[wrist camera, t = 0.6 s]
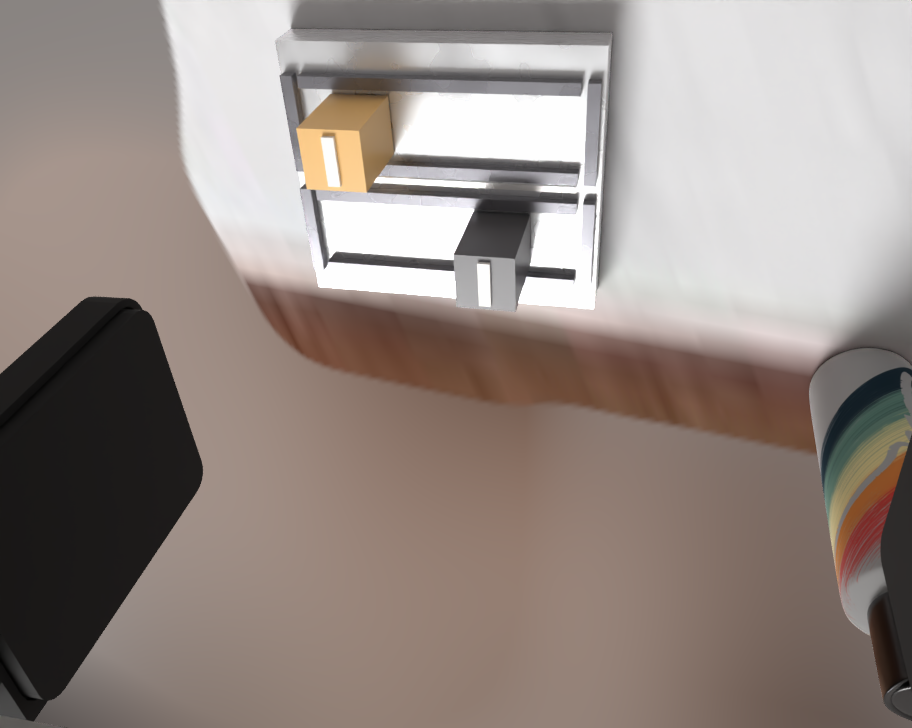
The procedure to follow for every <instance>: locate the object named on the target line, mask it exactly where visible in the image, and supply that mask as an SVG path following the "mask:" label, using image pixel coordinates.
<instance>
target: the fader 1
mask: <svg viewBox="0 0 912 728" xmlns="http://www.w3.org/2000/svg"><path fill="white" fill-rule="evenodd" d="M296 130H297V135H298V141H299V147H300V153H301V158H302V164H303V170H304V176H305V182H306V187H307V189H311V190H328V191H346V192H364V193H367V192H368V190H369V189H370V187H371V186H372V184H373V183H374V182H375V180H376V179H377V177H378V176H379V174H380V173H381V172H382V170H383V169H384V167H385V166H386V165H387V163H388V162H389V160H390V159H391V157H392V156H393V155H394V149H393V139H392V129H391V120H390V110H389V100H388V96H385V95H351V94H330V95H329V96H328V97H327V98H326V99H325V100H324V101H323V102H322V103H321V104H320V105H319V106H318V107H317V108H316V109H315V110H314V111H313V112H312V113H311V114H310V115H309V116H308V117H307V118H306V119H305V120H304V121H303V122H302V123H301V124H300V125H299V126H298V127H297V128H296Z"/></svg>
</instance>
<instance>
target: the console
mask: <svg viewBox="0 0 912 728" xmlns="http://www.w3.org/2000/svg"><path fill="white" fill-rule="evenodd" d="M275 43H276V49H277V55H278V60H279V66H280V71H281V75H280V81H281V87H282V92H283V98H284V103H285V109H286V115H287V120H288V126H289V131H290V137H291V143H292V148H293V154H294V159H295V165H296V171H298V173H299V179H300V184H301V188H300V193H301V199H302V204H303V210H304V215H305V221H306V227H307V232H308V238H309V243H310V249H311V255H312V260H313V266H314V270H316V274H317V280H318V286H319V287H328V288H341V289H353V290H365V291H377V292H390V293H402V294H414V295H426V296H439V297H451V298H456V291H455V275H454V258H453V254H454V252H455V250H456V248H457V245H458V243H459V241H460V239H461V237H462V235H463V232H464V230H465V228H466V226H467V224H468V222H469V219H470V217H471V215H472V213H473V212H486V213H503V214H520V215H530V267H529V271H528V274H527V277H526V280H525V283H524V287H523V290H522V293H521V296H520V299H519V303H524V304H537V305H549V306H561V307H573V308H586V309H594V306H595V300H596V295H597V289H598V271H599V254H600V237H601V220H602V203H603V186H604V169H605V152H606V135H607V118H608V100H609V83H610V66H611V49H612V33H600V32H518V31H436V30H354V29H290V30H288V31H287V32H286V33H284V34H283V35H282V36H280V37H279V38H278V39H277V40H275ZM330 94H351V95H385V96H388V100H389V110H390V120H391V129H392V139H393V149H394V155H393V156H392V157H391V159H390V160H389V162H388V163H387V165H386V166H385V167H384V169H383V170H382V172H381V173H380V174H379V176H378V177H377V179H376V180H375V182H374V183H373V184H372V186H371V187H370V189H369V190H368V192H367V193H364V192H346V191H328V190H311V189H307V187H306V182H305V176H304V170H303V164H302V158H301V153H300V147H299V141H298V135H297V130H296V128H297V127H298V126H299V125H300V124H301V123H302V122H303V121H304V120H305V119H306V118H307V117H308V116H309V115H310V114H311V113H312V112H313V111H314V110H315V109H316V108H317V107H318V106H319V105H320V104H321V103H322V102H323V101H324V100H325V99H326V98H327V97H328V96H329V95H330Z"/></svg>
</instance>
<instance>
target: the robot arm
mask: <svg viewBox="0 0 912 728" xmlns="http://www.w3.org/2000/svg"><path fill="white" fill-rule="evenodd" d="M202 475H203V466H202V461H201V458H200V455H199V452H198V450H197V447H196V444H195V441H194V438H193V435H192V432H191V429H190V426H189V423H188V421H187V417H186V414H185V411H184V408H183V405H182V402H181V399H180V397H179V394H178V391H177V388H176V385H175V382H174V379H173V376H172V373H171V370H170V368H169V364H168V361H167V358H166V355H165V352H164V350H163V347H162V344H161V341H160V338H159V335H158V332H157V329H156V326H155V323H154V320H153V318H152V316H151V315H150V314H149V313H148V312H147V311H144V310H142V308H141V306H140V305H139V304H138V303H137V302H136V301H134V300H132V299H130V298H111V297H88V298H86V299H84V300H83V301H81V302H80V303H79V304H78V305H77V306H76V307H75V308H73V309H72V310H71V311H70V312H69V313H68V314H67V315H66V316H64V317H63V318H62V319H61V320H60V321H59V322H58V323H57V324H56V325H55V326H53V327H52V328H51V329H50V330H49V331H48V332H47V333H46V334H44V335H43V336H42V337H41V338H40V339H39V340H38V341H37V342H36V343H34V344H33V345H32V346H31V347H30V348H29V349H28V350H27V351H25V352H24V353H23V354H22V355H21V356H20V357H19V358H18V359H17V360H16V361H14V362H13V363H12V364H11V365H10V366H9V367H8V368H7V369H5V370H4V371H3V372H2V373H1V374H0V728H66V727H61V726H55V725H50V724H44V723H39V722H34V720H35V719H36V717H37V716H38V714H39V713H40V711H41V710H42V709H43V707H44V706H45V704H46V703H47V701H48V700H52V699H55V698H56V697H57V696H59V695H60V694H61V693H62V691H63V690H64V689H65V688H66V686H67V685H68V683H69V682H70V680H71V678H72V677H73V676H74V674H75V673H76V671H77V670H78V668H79V667H80V665H81V664H82V662H83V661H84V659H85V658H86V656H87V655H88V653H89V652H90V650H91V649H92V647H93V646H94V644H95V643H96V641H97V640H98V638H99V637H100V636H101V634H102V632H103V631H104V630H105V628H106V627H107V625H108V623H109V622H110V621H111V619H112V618H113V616H114V615H115V613H116V612H117V610H118V609H119V607H120V605H121V604H122V603H123V601H124V600H125V598H126V597H127V595H128V594H129V592H130V591H131V589H132V588H133V586H134V585H135V583H136V582H137V580H138V579H139V577H140V576H141V574H142V573H143V571H144V570H145V568H146V567H147V565H148V564H149V562H150V561H151V559H152V558H153V556H154V555H155V553H156V552H157V550H158V549H159V547H160V546H161V544H162V543H163V541H164V540H165V539H166V537H167V536H168V534H169V532H170V531H171V529H172V528H173V527H174V525H175V524H176V522H177V521H178V519H179V518H180V516H181V515H182V513H183V511H184V510H185V509H186V507H187V506H188V504H189V503H190V501H191V500H192V498H193V497H194V495H195V494H196V492H197V491H198V489H199V487H200V484H201V481H202ZM880 553H881V563H882V568H883V572H884V577H885V581H886V585H887V590H888V594H889V598H890V602H891V607H892V611H893V615H894V619H895V624H896V628H897V632H898V636H899V641H900V645H901V649H902V653H903V658H904V662H905V666H906V671H907V675H908V679H909V683H910V688H911V692H912V435H911V438H910V442H909V445H908V448H907V451H906V455H905V458H904V461H903V465H902V468H901V471H900V475H899V478H898V481H897V485H896V488H895V491H894V494H893V498H892V501H891V504H890V508H889V511H888V514H887V518H886V521H885V524H884V527H883V531H882V536H881V547H880Z"/></svg>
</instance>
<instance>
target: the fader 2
mask: <svg viewBox="0 0 912 728" xmlns="http://www.w3.org/2000/svg"><path fill="white" fill-rule="evenodd" d="M453 258H454V275H455V291H456V307H463V308H475V309H487V310H499V311H511V312H516V309H517V306H518V303H519V299H520V296H521V293H522V290H523V287H524V283H525V280H526V277H527V274H528V271H529V267H530V215H520V214H503V213H486V212H473V213H472V215H471V217H470V219H469V222H468V224H467V226H466V228H465V230H464V232H463V235H462V237H461V239H460V241H459V243H458V245H457V248H456V250H455V252H454V254H453Z"/></svg>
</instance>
